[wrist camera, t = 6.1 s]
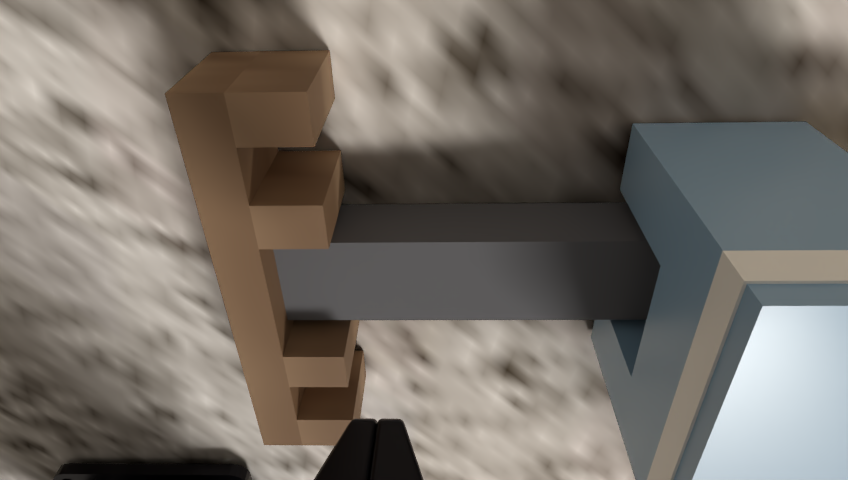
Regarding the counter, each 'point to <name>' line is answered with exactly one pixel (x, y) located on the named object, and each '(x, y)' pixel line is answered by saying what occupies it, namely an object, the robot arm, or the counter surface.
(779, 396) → the sleeve
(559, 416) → the counter surface
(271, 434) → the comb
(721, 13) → the counter surface
